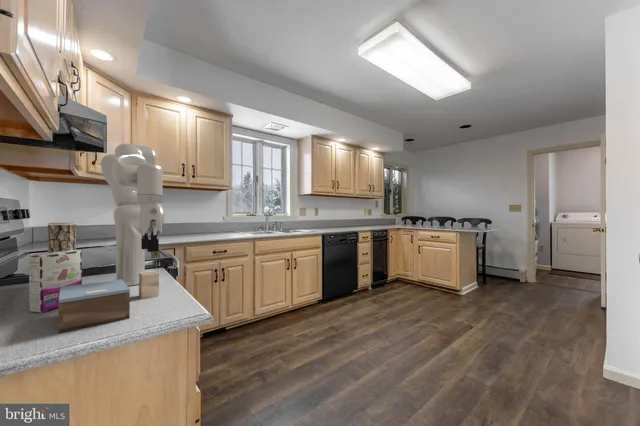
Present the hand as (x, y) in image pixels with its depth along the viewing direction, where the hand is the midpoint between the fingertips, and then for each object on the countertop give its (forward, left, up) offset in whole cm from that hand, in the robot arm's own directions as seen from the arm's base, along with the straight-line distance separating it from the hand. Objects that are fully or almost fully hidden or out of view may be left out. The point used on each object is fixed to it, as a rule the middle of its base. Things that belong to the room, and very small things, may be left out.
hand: (149, 250), depth 93 cm
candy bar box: (-7, -23, -16) cm, 29 cm away
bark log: (-15, -22, -16) cm, 31 cm away
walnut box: (+11, -15, -16) cm, 24 cm away
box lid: (+11, -15, -9) cm, 21 cm away
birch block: (-1, 0, -16) cm, 16 cm away
